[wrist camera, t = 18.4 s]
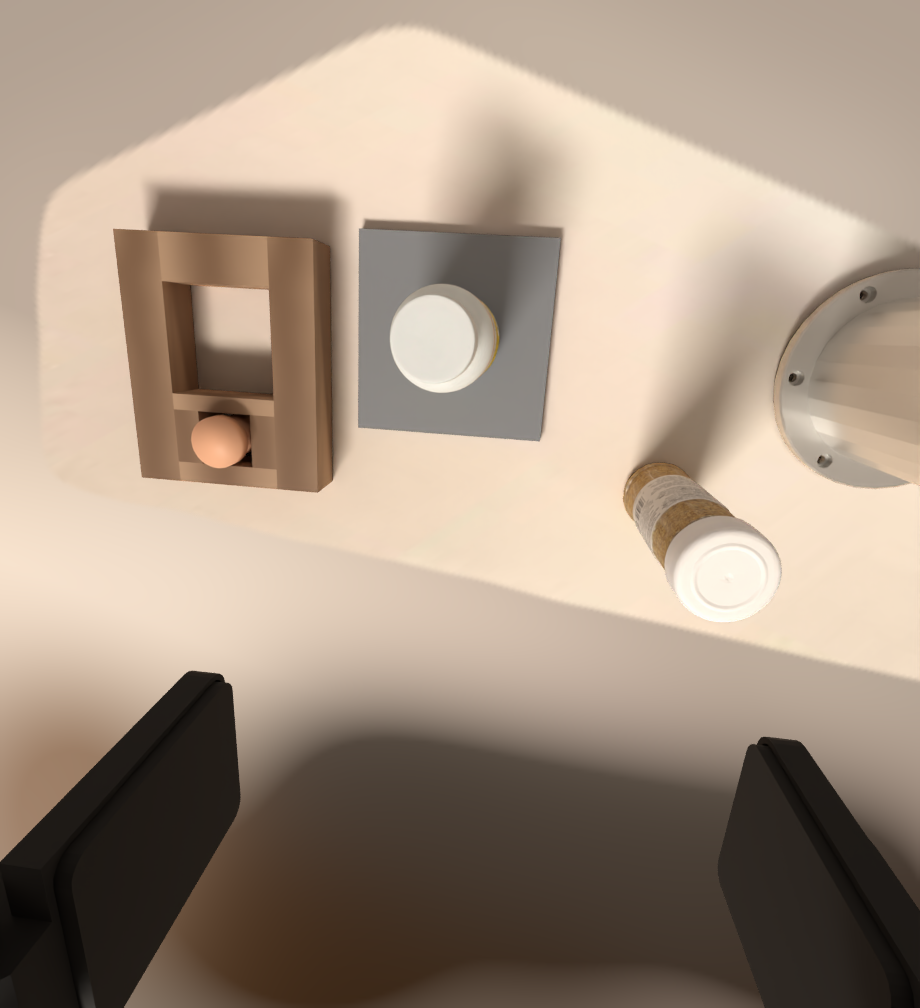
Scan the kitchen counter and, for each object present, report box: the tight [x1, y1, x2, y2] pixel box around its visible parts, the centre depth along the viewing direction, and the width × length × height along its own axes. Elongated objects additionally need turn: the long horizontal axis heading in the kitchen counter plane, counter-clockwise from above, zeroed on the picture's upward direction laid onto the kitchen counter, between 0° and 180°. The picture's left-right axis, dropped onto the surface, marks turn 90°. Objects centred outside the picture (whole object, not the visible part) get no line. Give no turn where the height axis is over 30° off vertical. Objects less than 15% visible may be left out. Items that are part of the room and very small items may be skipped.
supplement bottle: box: [390, 284, 499, 393], centre depth 30 cm, size 5×5×10 cm
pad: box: [358, 228, 561, 441], centre depth 35 cm, size 12×12×1 cm
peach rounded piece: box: [191, 414, 252, 468], centre depth 36 cm, size 3×3×4 cm
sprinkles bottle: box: [623, 463, 782, 622], centre depth 30 cm, size 5×5×14 cm
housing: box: [113, 229, 332, 493], centre depth 36 cm, size 12×15×3 cm
